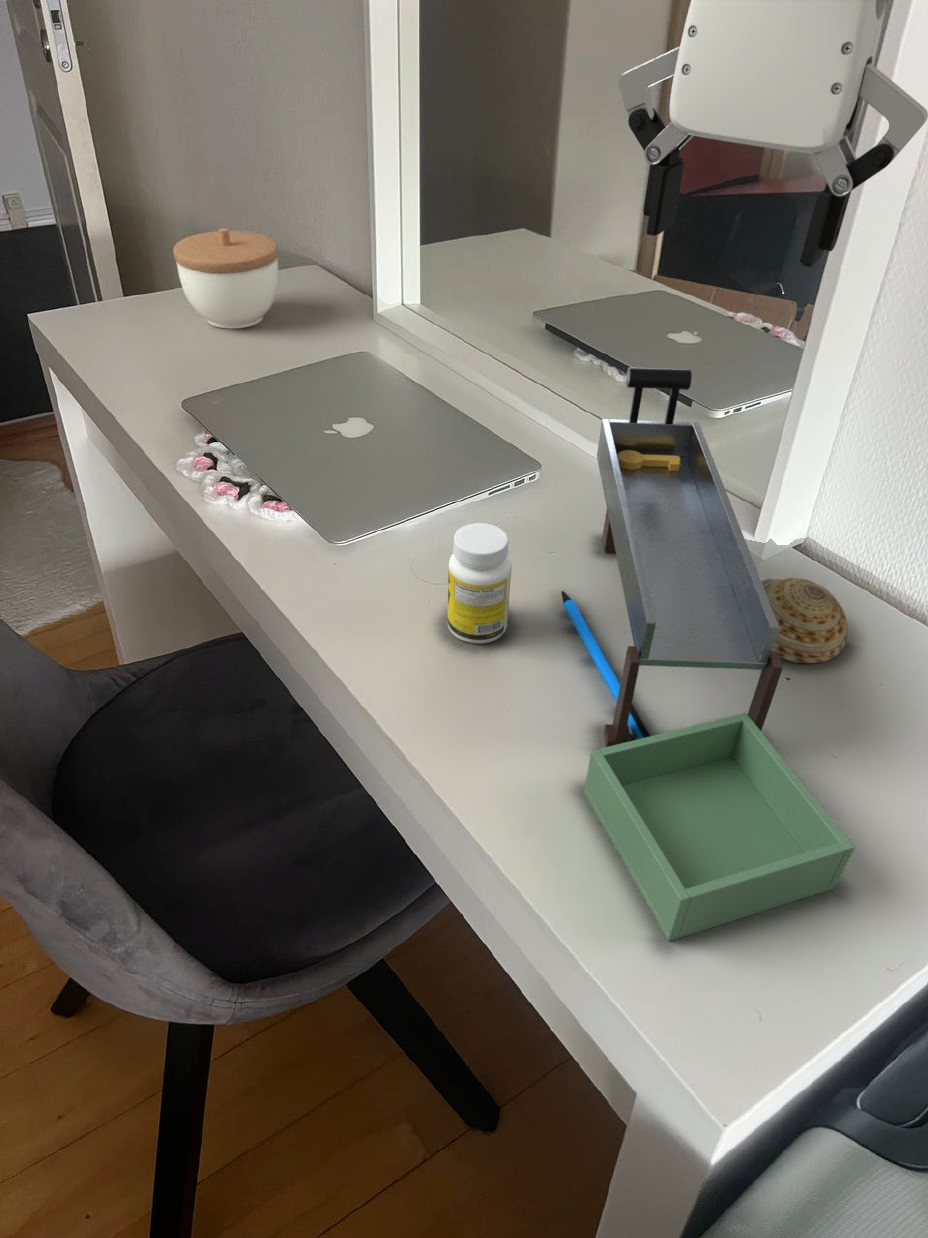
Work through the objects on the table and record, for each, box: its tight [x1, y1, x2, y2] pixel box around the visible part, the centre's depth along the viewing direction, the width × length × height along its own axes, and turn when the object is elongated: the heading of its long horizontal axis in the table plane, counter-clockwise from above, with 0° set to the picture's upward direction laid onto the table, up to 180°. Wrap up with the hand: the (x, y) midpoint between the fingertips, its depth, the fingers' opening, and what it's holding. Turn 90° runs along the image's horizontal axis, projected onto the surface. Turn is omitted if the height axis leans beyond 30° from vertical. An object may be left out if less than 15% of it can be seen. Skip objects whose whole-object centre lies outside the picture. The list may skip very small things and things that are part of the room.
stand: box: [601, 509, 784, 748], centre depth 69 cm, size 25×11×8 cm, turn 179°
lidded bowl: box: [172, 227, 280, 330], centre depth 115 cm, size 13×13×11 cm
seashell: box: [761, 577, 848, 664], centre depth 72 cm, size 8×6×8 cm
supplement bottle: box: [447, 522, 512, 645], centre depth 69 cm, size 5×5×8 cm
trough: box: [596, 366, 779, 671], centre depth 66 cm, size 28×8×8 cm, turn 179°
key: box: [617, 450, 681, 471], centre depth 77 cm, size 5×2×1 cm, turn 89°
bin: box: [583, 712, 855, 942], centre depth 55 cm, size 11×11×4 cm
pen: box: [560, 590, 651, 740], centre depth 67 cm, size 1×19×1 cm, turn 15°
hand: (733, 244), depth 57 cm, fingers open, 9 cm apart
